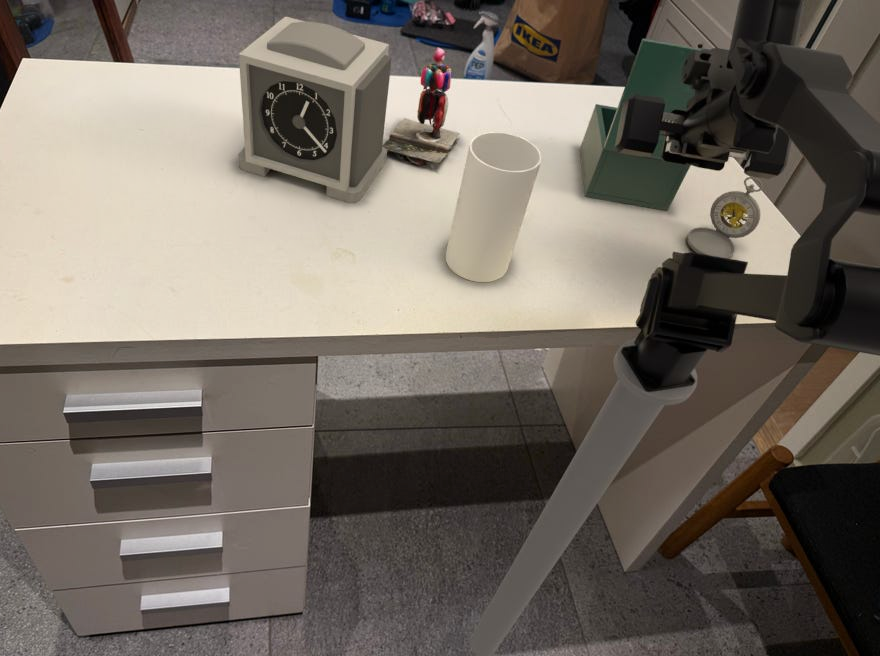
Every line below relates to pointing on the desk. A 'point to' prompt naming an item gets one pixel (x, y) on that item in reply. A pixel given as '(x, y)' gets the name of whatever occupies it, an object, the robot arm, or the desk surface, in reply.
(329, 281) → the desk surface
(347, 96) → the alarm clock
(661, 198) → the panel
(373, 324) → the desk surface
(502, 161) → the cup
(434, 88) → the statue
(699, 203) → the desk surface
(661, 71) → the lid
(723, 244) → the pocket watch
